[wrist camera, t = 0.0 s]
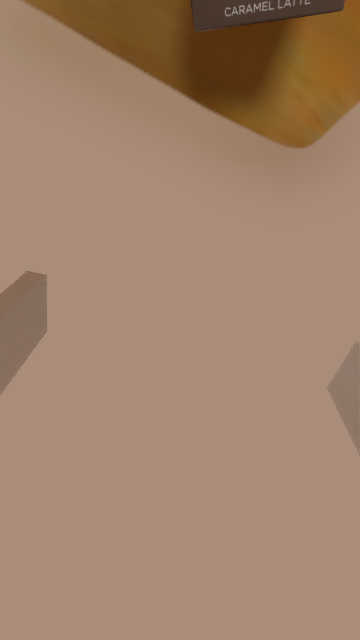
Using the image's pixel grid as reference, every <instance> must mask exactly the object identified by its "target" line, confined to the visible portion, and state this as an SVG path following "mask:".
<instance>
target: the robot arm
mask: <svg viewBox="0 0 360 640" xmlns="http://www.w3.org/2000/svg"><path fill="white" fill-rule="evenodd" d="M46 332H47V275H44V274H39V273H34V272H29V271H26V273H24V274H23V275H22V276H21V277H20V278H19V279H17V280H16V281H15V282H14V283H13V284H12V285H10V286H9V287H8V288H7V289H6V290H5V291H3V293H1V294H0V395H1V394H2V392H3V391H4V389H5V388H6V387H7V385H8V384H9V383H10V381H11V380H12V378H13V377H14V376H15V374H16V373H17V372H18V370H19V369H20V367H21V366H22V365H23V363H24V362H25V360H26V359H27V358H28V356H29V355H30V354H31V352H32V351H33V350H34V348H35V347H36V345H37V344H38V343H39V341H40V340H41V339H42V337H43V336H44V334H45V333H46ZM327 388H328V390H329V393H330V395H331V397H332V399H333V401H334V403H335V405H336V407H337V409H338V411H339V413H340V416H341V418H342V420H343V422H344V424H345V426H346V428H347V430H348V432H349V434H350V436H351V438H352V440H353V443H354V445H355V446H356V449H357V451H358V453H359V455H360V342H355V344H354V345H353V347H352V349H351V350H350V352H349V353H348V355H347V357H346V358H345V360H344V362H343V363H342V365H341V366H340V368H339V369H338V371H337V373H336V374H335V376H334V377H333V379H332V380H331V382H330V384H329V385H328V387H327Z"/></svg>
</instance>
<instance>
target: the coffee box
mask: <svg viewBox="0 0 360 640" xmlns="http://www.w3.org/2000/svg"><path fill="white" fill-rule="evenodd" d="M190 1H191V7H192V13H193V20H194V27H195V31H196V32H199V31H207V30H214V29H221V28H227V27H234V26H240V25H248V24H255V23H262V22H269V21H276V20H284V19H290V18H297V17H304V16H311V15H317V14H324V13H331V12H337V11H341V10H343V9H344V2H345V0H190Z"/></svg>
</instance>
